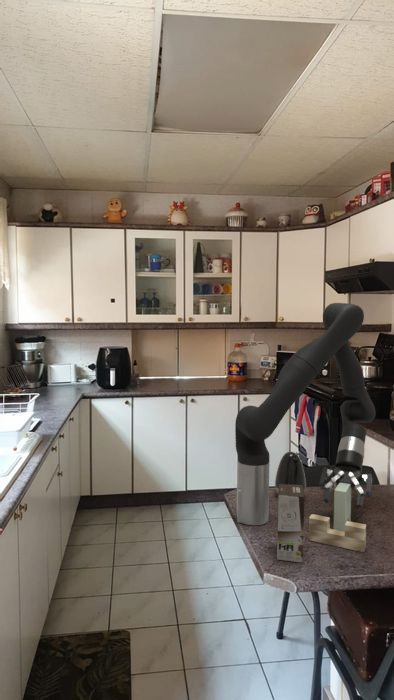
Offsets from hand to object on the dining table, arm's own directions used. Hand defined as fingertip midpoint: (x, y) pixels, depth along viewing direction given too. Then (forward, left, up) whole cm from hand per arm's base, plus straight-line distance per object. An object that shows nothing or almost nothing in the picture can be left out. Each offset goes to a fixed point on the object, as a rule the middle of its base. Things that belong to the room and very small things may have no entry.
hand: (342, 505), depth 130 cm
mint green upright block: (0, +1, -7) cm, 7 cm away
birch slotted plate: (-4, -9, -7) cm, 12 cm away
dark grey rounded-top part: (-11, +25, -7) cm, 28 cm away
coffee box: (-17, -15, -7) cm, 24 cm away
